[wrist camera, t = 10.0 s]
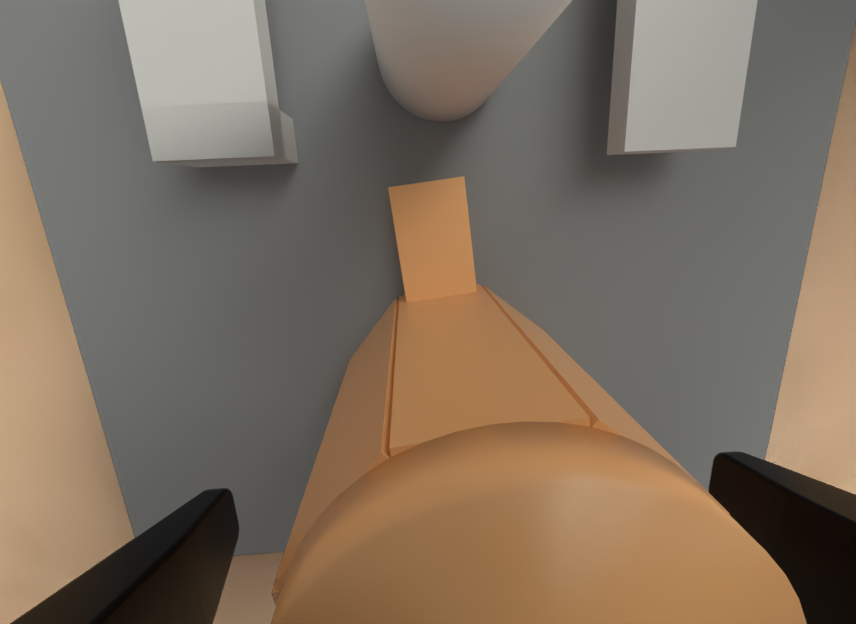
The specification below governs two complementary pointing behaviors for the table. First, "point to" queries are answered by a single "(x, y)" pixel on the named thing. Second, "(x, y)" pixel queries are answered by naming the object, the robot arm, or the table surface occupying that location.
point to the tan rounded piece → (500, 476)
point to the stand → (408, 164)
